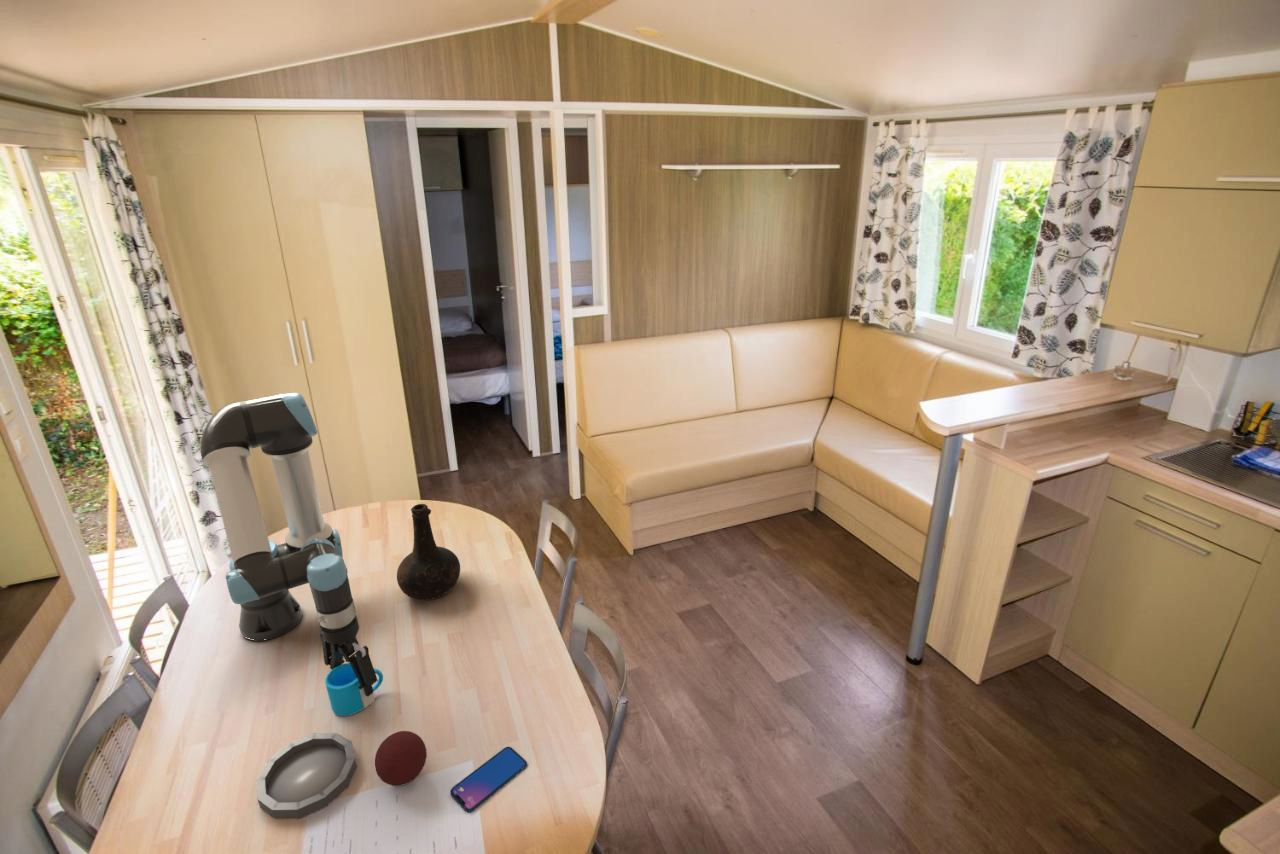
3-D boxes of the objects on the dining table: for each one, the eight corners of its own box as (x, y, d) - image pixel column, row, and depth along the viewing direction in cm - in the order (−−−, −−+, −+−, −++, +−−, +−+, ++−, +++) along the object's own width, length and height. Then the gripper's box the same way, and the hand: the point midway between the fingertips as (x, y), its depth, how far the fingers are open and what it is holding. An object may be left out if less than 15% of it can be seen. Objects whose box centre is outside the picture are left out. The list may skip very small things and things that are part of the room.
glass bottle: (405, 616, 180) (389, 530, 170) (396, 582, 195) (380, 501, 184) (469, 597, 188) (457, 514, 177) (455, 566, 203) (443, 487, 192)
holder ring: (240, 793, 130) (237, 784, 129) (319, 729, 145) (317, 721, 144) (296, 834, 122) (293, 825, 121) (374, 762, 137) (372, 754, 136)
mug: (335, 721, 146) (328, 694, 143) (329, 698, 153) (322, 671, 150) (389, 698, 152) (384, 672, 149) (381, 677, 159) (376, 651, 156)
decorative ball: (380, 804, 128) (371, 768, 124) (377, 764, 136) (369, 729, 132) (432, 786, 131) (425, 750, 127) (426, 748, 140) (420, 713, 136)
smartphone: (529, 763, 136) (468, 813, 125) (529, 766, 136) (469, 816, 126) (508, 744, 140) (447, 790, 130) (508, 747, 140) (448, 793, 130)
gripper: (293, 614, 146) (314, 690, 155) (355, 645, 136) (373, 725, 145) (322, 595, 152) (341, 670, 161) (384, 624, 142) (399, 702, 151)
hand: (356, 696), depth 153 cm, fingers closed on mug, 8 cm apart
